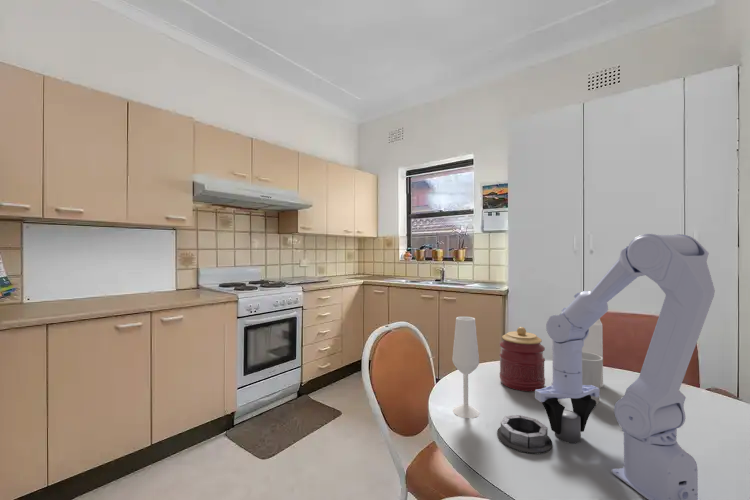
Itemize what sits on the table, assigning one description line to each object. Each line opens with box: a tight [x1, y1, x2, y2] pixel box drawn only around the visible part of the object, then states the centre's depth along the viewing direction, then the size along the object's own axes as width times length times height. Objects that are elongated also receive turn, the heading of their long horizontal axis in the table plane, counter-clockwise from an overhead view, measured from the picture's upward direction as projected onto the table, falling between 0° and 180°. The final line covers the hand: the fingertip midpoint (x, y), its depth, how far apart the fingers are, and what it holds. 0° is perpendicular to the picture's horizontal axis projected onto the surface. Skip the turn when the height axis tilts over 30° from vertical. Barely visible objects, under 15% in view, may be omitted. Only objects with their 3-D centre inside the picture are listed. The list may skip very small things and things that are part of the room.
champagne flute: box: [451, 316, 480, 419], centre depth 86 cm, size 7×7×24 cm
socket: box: [496, 414, 553, 455], centre depth 74 cm, size 11×11×3 cm
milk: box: [582, 318, 604, 388], centre depth 105 cm, size 6×6×22 cm
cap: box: [554, 409, 582, 445], centre depth 74 cm, size 5×5×5 cm
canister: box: [498, 326, 546, 392], centre depth 104 cm, size 13×13×18 cm
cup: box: [582, 352, 604, 405], centre depth 93 cm, size 8×8×12 cm
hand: (567, 430), depth 74 cm, fingers open, 5 cm apart
